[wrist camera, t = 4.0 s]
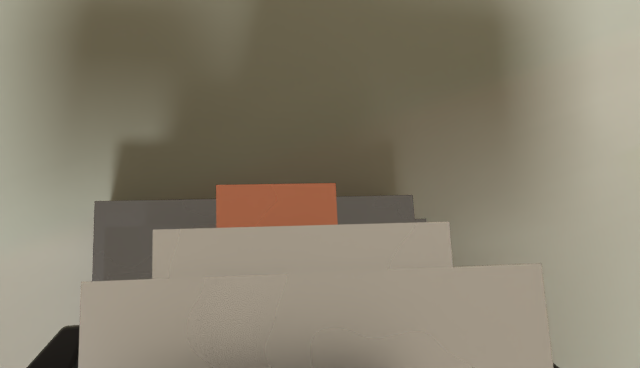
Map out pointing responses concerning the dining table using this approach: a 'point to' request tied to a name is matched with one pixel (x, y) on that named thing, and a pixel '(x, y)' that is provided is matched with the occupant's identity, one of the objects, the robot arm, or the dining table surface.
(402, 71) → the dining table surface
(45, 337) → the dining table surface
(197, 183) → the dining table surface
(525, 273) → the column
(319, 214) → the stand base
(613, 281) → the dining table surface
